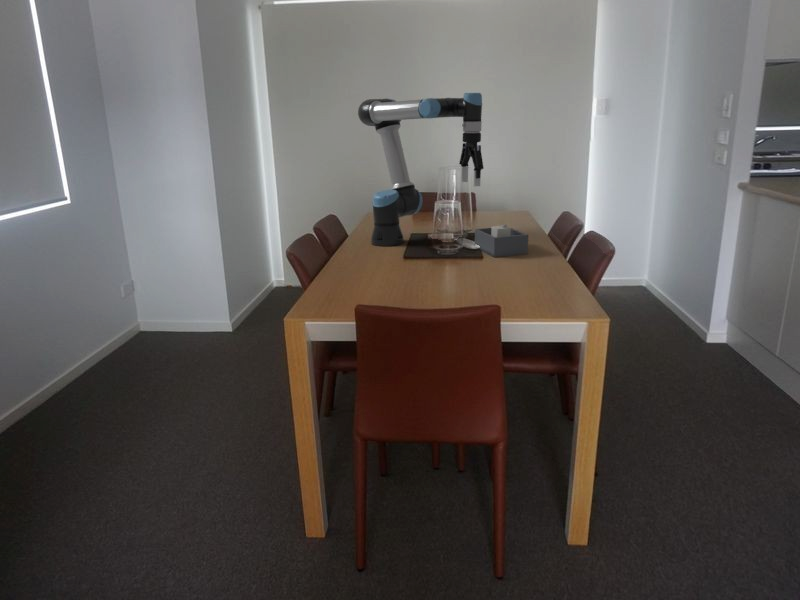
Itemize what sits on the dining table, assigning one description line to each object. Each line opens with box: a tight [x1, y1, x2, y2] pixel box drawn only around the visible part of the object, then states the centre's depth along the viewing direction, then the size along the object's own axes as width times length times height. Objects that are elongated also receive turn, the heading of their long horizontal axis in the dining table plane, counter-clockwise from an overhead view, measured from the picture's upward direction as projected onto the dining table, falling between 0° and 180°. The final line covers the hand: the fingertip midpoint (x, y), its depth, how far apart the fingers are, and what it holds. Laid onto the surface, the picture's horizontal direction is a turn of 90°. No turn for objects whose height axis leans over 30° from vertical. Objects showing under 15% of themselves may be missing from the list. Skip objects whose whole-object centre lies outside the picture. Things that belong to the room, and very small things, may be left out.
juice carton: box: [490, 224, 512, 237], centre depth 251 cm, size 6×6×10 cm
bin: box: [474, 227, 529, 258], centre depth 252 cm, size 20×15×8 cm
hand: (470, 184), depth 254 cm, fingers open, 13 cm apart
